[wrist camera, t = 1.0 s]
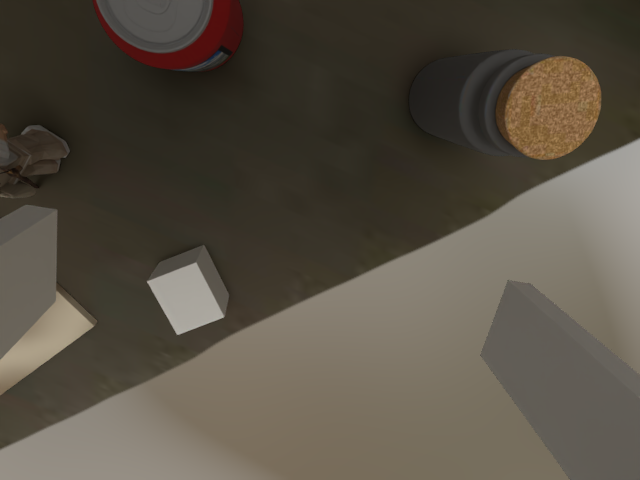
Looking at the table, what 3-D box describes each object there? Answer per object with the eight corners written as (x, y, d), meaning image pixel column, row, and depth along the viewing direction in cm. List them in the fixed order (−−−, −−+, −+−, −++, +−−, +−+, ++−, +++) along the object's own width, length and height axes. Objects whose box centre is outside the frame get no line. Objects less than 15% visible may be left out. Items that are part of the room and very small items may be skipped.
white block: (159, 261, 38) (146, 281, 34) (204, 244, 38) (196, 262, 34) (186, 310, 40) (177, 335, 36) (229, 294, 40) (224, 317, 36)
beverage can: (136, 51, 33) (62, 36, 21) (160, -50, 31) (93, -126, 19) (228, 86, 34) (204, 89, 23) (257, -9, 32) (246, -58, 21)
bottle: (465, 144, 37) (582, 183, 23) (398, 125, 36) (475, 155, 22) (492, 69, 35) (635, 62, 21) (421, 48, 34) (522, 25, 20)
